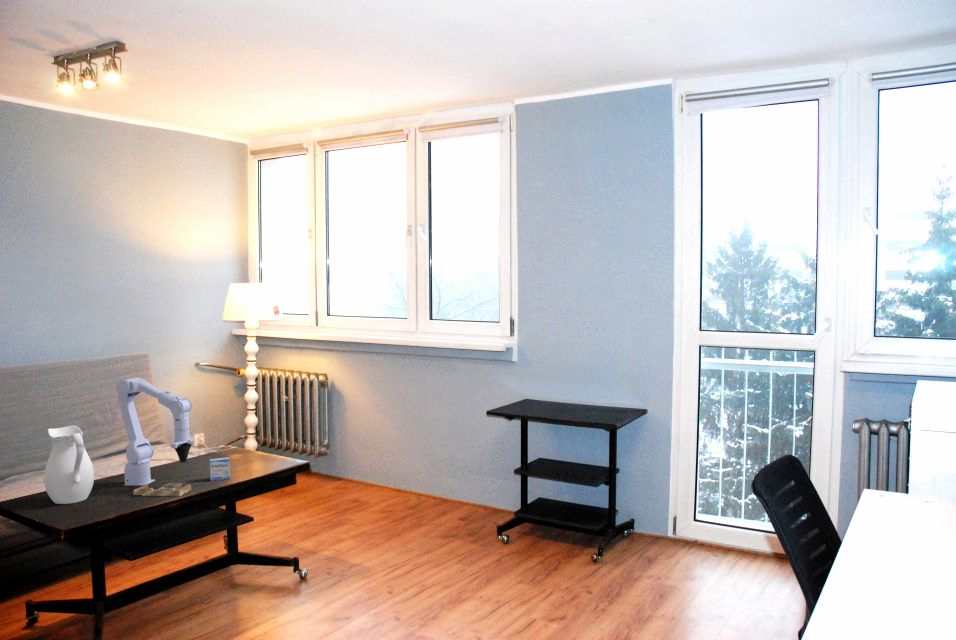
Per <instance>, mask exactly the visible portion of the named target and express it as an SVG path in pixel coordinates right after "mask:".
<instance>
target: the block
mask: <svg viewBox="0 0 956 640" xmlns="http://www.w3.org/2000/svg"><path fill="white" fill-rule="evenodd" d="M162 487H163V488H175V490H179V489H181V488H183V483H182V482H170V483H167V484H164V485H163V486H162Z"/></svg>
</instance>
